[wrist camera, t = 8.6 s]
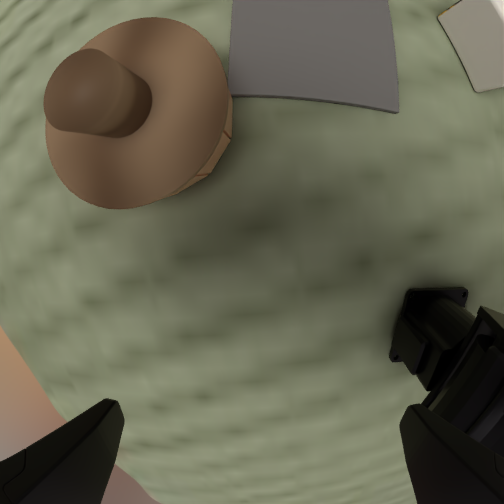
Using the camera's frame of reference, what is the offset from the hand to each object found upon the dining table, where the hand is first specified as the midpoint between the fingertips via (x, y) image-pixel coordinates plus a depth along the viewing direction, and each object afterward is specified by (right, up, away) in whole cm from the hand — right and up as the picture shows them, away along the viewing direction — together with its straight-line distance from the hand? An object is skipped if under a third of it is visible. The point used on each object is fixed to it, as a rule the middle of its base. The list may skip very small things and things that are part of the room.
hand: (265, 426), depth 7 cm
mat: (+4, +20, +7) cm, 21 cm away
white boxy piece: (+19, +22, +6) cm, 30 cm away
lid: (-6, +12, +5) cm, 15 cm away
